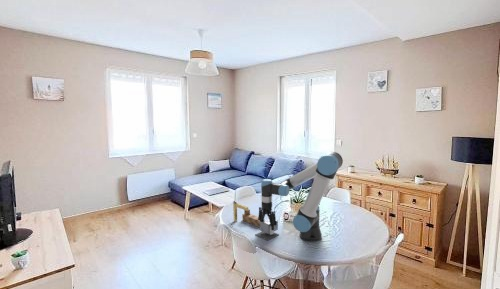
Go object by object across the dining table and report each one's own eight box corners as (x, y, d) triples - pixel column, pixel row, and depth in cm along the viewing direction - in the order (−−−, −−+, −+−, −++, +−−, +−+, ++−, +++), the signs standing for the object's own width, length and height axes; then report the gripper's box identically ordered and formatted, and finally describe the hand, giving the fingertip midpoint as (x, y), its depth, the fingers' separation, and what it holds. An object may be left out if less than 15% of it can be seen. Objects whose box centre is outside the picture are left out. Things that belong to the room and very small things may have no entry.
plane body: (264, 225, 205) (264, 214, 204) (260, 227, 202) (260, 216, 201) (247, 218, 220) (246, 207, 219) (242, 220, 216) (242, 209, 215)
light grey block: (268, 234, 184) (268, 224, 183) (260, 230, 190) (260, 221, 189) (277, 229, 191) (277, 220, 190) (269, 226, 197) (269, 217, 196)
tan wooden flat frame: (249, 225, 205) (248, 205, 203) (246, 226, 203) (246, 206, 201) (235, 220, 216) (235, 200, 214) (233, 220, 214) (232, 201, 212)
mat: (278, 234, 189) (278, 234, 189) (267, 240, 181) (267, 240, 181) (266, 229, 198) (266, 229, 198) (255, 235, 190) (255, 234, 190)
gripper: (281, 203, 182) (281, 235, 184) (259, 196, 197) (260, 226, 199) (274, 206, 176) (274, 238, 179) (252, 199, 191) (253, 229, 194)
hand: (267, 232), depth 189 cm, fingers closed on light grey block, 8 cm apart
